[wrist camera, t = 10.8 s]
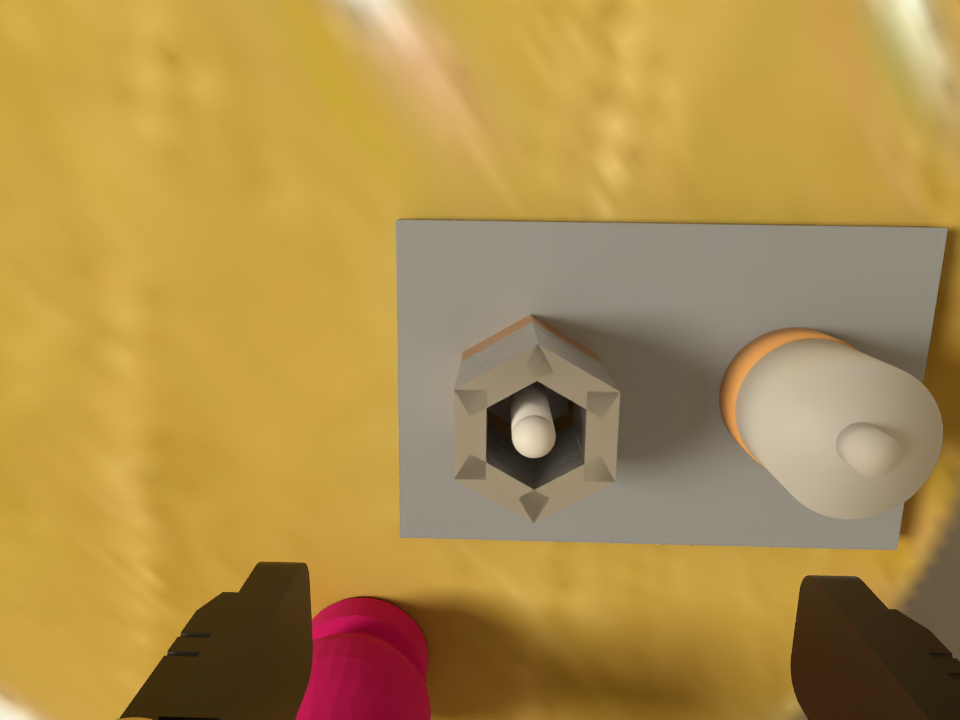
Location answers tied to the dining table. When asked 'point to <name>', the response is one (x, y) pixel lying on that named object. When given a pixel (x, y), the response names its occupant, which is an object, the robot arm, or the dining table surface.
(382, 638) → the pepper mill
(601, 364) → the sleeve
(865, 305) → the pin board
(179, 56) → the dining table surface
